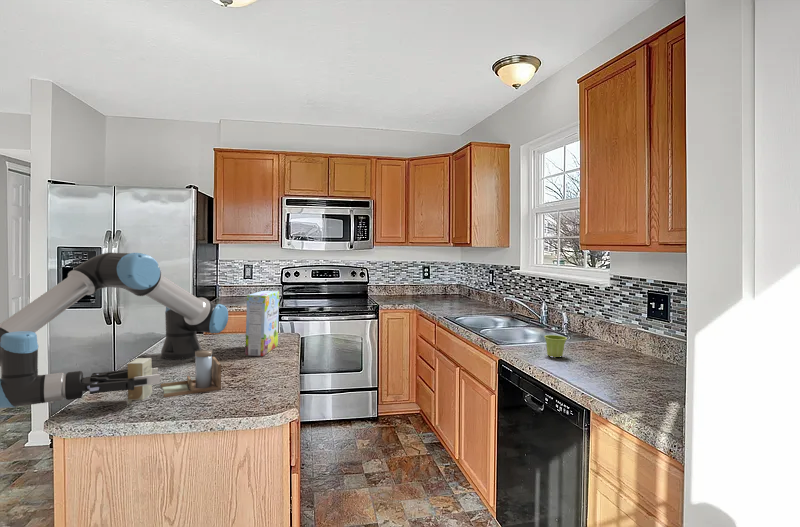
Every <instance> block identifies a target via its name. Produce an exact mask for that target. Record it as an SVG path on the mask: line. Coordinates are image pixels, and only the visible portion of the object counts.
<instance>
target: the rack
mask: <svg viewBox="0 0 800 527" xmlns="http://www.w3.org/2000/svg"><path fill="white" fill-rule="evenodd" d="M186 379H187V380H183V381H173V382H164V383H160V388H162V389H163V398H170V397H178V396H183V395H184V396H185V395H190V394H198V393H199V394H200V393H205V392H206V393H207V392H212V391H213V392H214V391H220V390H222V364H221V363H220V361H219V360H218V359H217V358H216V357H215V356H212V386H211V387H208V388H196V387H195V379H191V376H190V375H187V378H186Z"/></svg>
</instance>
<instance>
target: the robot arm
mask: <svg viewBox="0 0 800 527" xmlns="http://www.w3.org/2000/svg"><path fill="white" fill-rule="evenodd" d="M106 288H116V289H117V288H119V289H124V290H126V291H128V292H130V293H131V294H133V295H135V296H137V297H144V296H147V297H149V298H150V299H152V300H154V301H155V302H157V303H158V304H161V305H162V306H164V307H165V311H164V313H165V315H164V316H165V317H164V318H165V339H164V342H163V345H162V348H161V350H160V351H161V352H160V357H161V358H162V359H165V360H166V359H167V360H168V359H169V360H181V359H183V360H184V359H188V358H189V359H190V358H195V351H198V350H202V348H201V345H200V341H199V339H198V336H197V332H199V333H207V334H218V333H219V334H220V333H222V331H224V329H225V328H226V327H227V324H228V321H229V310H228V307H227V306H226V305H224V304H221V303H218V304H217V303H214V302H212V301H210V300H209V299H207V298H206V297H202V296H201V297H197V296H195V295H193V294H192V293H190V292H189V291H188V290H186V289H184V288H183V287H181V286H180V285H178V284H177V283H175V282H173V281H172V280H171V279H169V278H167V277H165V275H162V270H161V268H160V267H159V263H158V262H157V260H156V259H155V258H154V257H152V256H151V255H149V254H147V253H141V252H131V253H130V252H128V253H127V252H104V253H101V254H97V255H95V256H93V257H91V258H89V259H87V260H85V261H84V262H83V263H81V264H79V265H77V266H76V267H75V268H73V269H72V270H70V271H68V273H67V276H66V278H64V279H63V280H62V281H60V282H59V283H57V284H55V285H54V286H53V287H52V288H50V289H49V290H47V291H45V292H44V293H43V294H42V295H40V296H38V297H36V299H34V300H33V301H31V302H29V303H28V304H27V305H25V306H24V307H22V308H21V309H19V310H18V311H16V312H15V313H14V314H12V315H11V316H9V317H8V318H6V319H5V320H4V321H2V322H1V323H0V370H1V371H0V372H1V373H0V374H1V375H0V376H1V377H0V409H5V408H18V407H23V406H24V407H25V406H33V405H39V404H45V403H46V404H47V403H49V404H51V405H53V404H55V402H60V401H64V399H66V400H67V401H71V400H77V399H78V400H80V399H82V398H83V395H84V392H89V395H95V394H100V393H101V394H102V393H109V392H110V393H111V392H120V391H128V390H134V387H138V386H146V385H152V386H153V385H161V374H160V373H159V367H154V368H153V367H152V375H147V376H138V377H134V378H128V368H127V369H120V370H118V369H117V370H111V371H104V372H93V373H91V375H90V376H86V377H84V373H83V371H82V370H77V371H69V372H67V373H66V374H65V373H64V372H57V373H49V374H46V373H45V374H39V369H38V367H39V366H38V365H39V362H38V361H39V344H38V336H37V333H36V332H38V331H40V329H42V328H43V327H45V326H46V325H47V324H49V323H50V322H51V321H53V320H54V319H55V318H57V317H58V316H60V315H61V314H62V313H63V312H65V311H66V310H68V309H69V308H70V307H72V306H73V305H74V304H76V303H77V302H78V301H79V300H81V299H82V298H84V297H85V296H86V295H87V296H90V295H94V293H96V292H97V291H99V290H103V289H106Z"/></svg>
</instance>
